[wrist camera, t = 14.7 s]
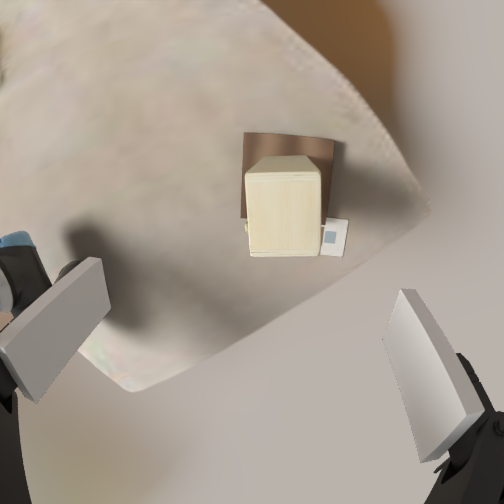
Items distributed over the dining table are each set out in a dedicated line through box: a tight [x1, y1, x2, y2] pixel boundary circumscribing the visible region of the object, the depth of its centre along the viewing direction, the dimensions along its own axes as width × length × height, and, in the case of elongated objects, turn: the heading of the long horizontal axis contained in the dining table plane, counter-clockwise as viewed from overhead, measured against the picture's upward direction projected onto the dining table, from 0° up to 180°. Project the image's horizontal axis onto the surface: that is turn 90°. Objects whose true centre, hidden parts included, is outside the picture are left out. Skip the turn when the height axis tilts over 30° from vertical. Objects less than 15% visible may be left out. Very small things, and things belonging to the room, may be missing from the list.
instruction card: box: [320, 217, 349, 256], centre depth 50 cm, size 9×7×1 cm
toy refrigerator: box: [245, 155, 321, 257], centre depth 34 cm, size 8×7×21 cm
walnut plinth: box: [241, 133, 335, 225], centre depth 45 cm, size 14×14×3 cm
